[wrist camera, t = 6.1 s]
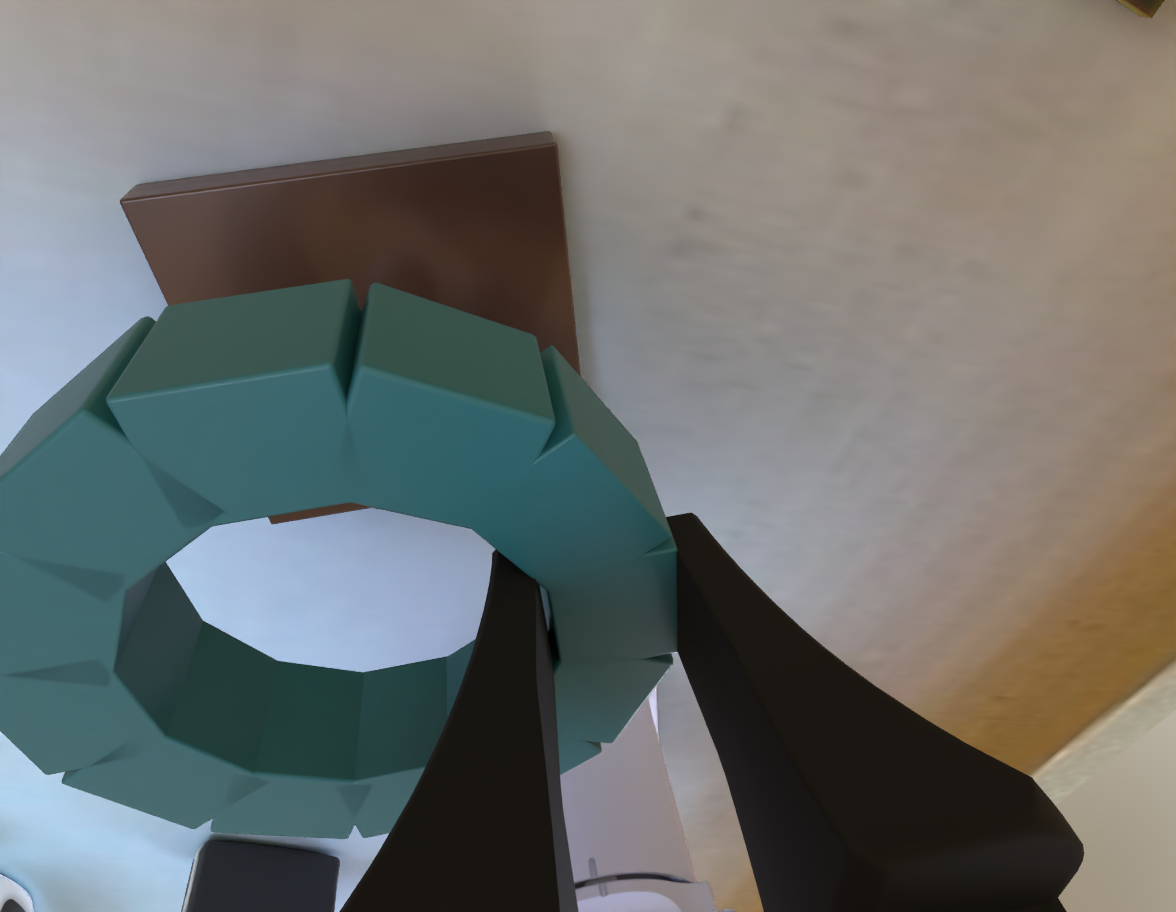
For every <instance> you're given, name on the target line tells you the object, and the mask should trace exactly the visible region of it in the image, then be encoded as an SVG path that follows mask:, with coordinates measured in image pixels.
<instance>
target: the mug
mask: <svg viewBox="0 0 1176 912" xmlns="http://www.w3.org/2000/svg"><path fill="white" fill-rule="evenodd" d="M0 912H34V906H33V902H32V899H31V897H30V896H29V894H28V893H27V892H26V891H25V890H24V889H23V888H22V887H21V886H20V885H19V884H17V883H16V882H14V881H12V880H11V879H9V878H7V877H5V876H3V875H1V874H0Z"/></svg>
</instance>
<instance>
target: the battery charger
mask: <svg viewBox="0 0 1176 912" xmlns="http://www.w3.org/2000/svg"><path fill="white" fill-rule="evenodd" d="M339 867H340V861H339V859H338V858H337V857H333V856H328V855H323V854H318V853H313V852H307V851H301V850H294V849H288V848H281V847H273V846H264V845H255V844H246V843H235V842H219V841H209V842H207V843H206V844H205V845H203V846H201V847H200V848H199V849H198V851H197V853H196V855H195V858H194V860H193V863H192V867H191V872H190V876H189V881H188V884H187V888H186V893H185V898H184V902H183V906H182V910H181V912H334V909H335V900H336V890H337V882H338V874H339Z"/></svg>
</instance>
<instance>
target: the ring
mask: <svg viewBox="0 0 1176 912" xmlns="http://www.w3.org/2000/svg"><path fill="white" fill-rule="evenodd" d="M345 503H355V504H360V505H364V506H369V507H373V508H378V509H382V510H387V511H392V512H396V513H401V514H405V515H410V516H414V517H419V518H424V519H428V520H433V521H437V522H442V523H446V524H451V525H455V526H460V527H465V528H469V529H472V530H473V531H475V532H476V533H477V534H478V535H480V536H481V537H482V538H483V539H484V540H486V541H487V542H488V543H489V544H491V545H492V546H493V547H494V548H495V549H497V550H498V551H499V552H500V553H502V554H503V555H504V556H505V557H506V558H508V559H509V560H510V561H511V562H512V563H514V564H515V565H516V566H517V567H519V568H520V569H521V570H522V571H523V572H525V573H526V574H527V575H528V576H530V577H531V578H532V579H536V582H537V583H538V584H539V585H540V591H541V596H542V601H543V607H544V612H545V618H546V624H547V630H548V637H549V643H550V649H551V656H552V663H553V673H554V683H555V699H556V715H557V732H558V748H559V765H560V775H561V774H563V773H565V772H567V771H569V770H571V769H572V768H574V767H576V766H578V765H580V764H582V763H584V762H585V761H587V760H589V759H591V758H593V757H595V756H596V755H598V754H600V753H601V752H602V748H601V743H613V742H614V741H615V740H616V739H617V737H618V736H619V735H620V733H621V732H622V731H623V729H624V728H625V727H626V725H627V724H628V723H629V721H630V720H631V719H632V718H633V716H634V715H635V714H636V712H637V711H638V710H639V708H640V707H641V706H642V704H643V703H644V702H645V700H646V699H647V698H648V696H649V695H650V694H651V692H652V691H653V690H654V689H655V687H656V686H657V685H658V683H659V682H660V681H661V679H662V678H663V677H664V675H665V674H666V673H667V671H668V670H669V669H670V667H671V666H672V665H673V658H672V654H671V653H675V652H678V619H677V555H676V552H677V550H678V549H677V546H676V544H675V541H674V538H673V536H672V533H671V530H670V528H669V525H668V522H667V519H666V517H665V514H664V511H663V509H662V506H661V503H660V501H659V498H658V495H657V493H656V490H655V487H654V485H653V482H652V479H651V477H650V474H649V471H648V469H647V466H646V463H645V461H644V458H643V456H642V454H641V451H640V448H639V446H638V443H637V441H636V440H635V439H634V438H633V437H632V435H631V434H630V433H629V432H628V431H627V430H626V428H625V427H624V426H623V425H622V424H621V423H620V422H619V420H618V419H617V418H616V417H615V416H614V415H613V414H612V412H611V411H610V410H609V409H608V408H607V407H606V406H605V404H604V403H603V402H602V401H601V400H600V399H599V398H598V396H597V395H596V394H595V393H594V392H593V391H592V389H591V388H590V387H589V386H588V385H587V384H586V383H585V381H584V380H583V379H582V378H581V377H580V376H579V375H578V373H577V372H576V371H575V370H574V369H573V368H572V367H571V365H570V364H569V363H568V362H567V361H566V360H565V358H564V357H563V356H562V355H561V354H560V353H559V352H558V350H557V349H556V348H555V347H554V346H552V345H551V346H549V347H548V348H546V349H545V350H544V351H542V352H541V353H540V351H539V347H538V343H537V338H536V337H535V336H534V335H532V334H530V333H527V332H524V331H521V330H518V329H515V328H512V327H509V326H506V325H503V324H500V323H497V322H494V321H491V320H488V319H485V318H482V317H479V316H476V315H473V314H470V313H467V312H464V311H461V310H458V309H455V308H452V307H449V306H446V305H443V304H440V303H437V302H434V301H431V300H428V299H425V298H422V297H419V296H416V295H413V294H410V293H407V292H404V291H401V290H398V289H395V288H392V287H389V286H386V285H383V284H380V283H373V284H372V285H371V286H370V287H369V291H368V294H367V297H366V300H365V304H364V307H363V310H362V312H361V309H360V306H359V302H358V299H357V296H356V292H355V289H354V286H353V283H352V281H351V280H350V279H343V280H336V281H330V282H323V283H316V284H309V285H303V286H296V287H289V288H283V289H276V290H269V291H262V292H256V293H249V294H242V295H236V296H229V297H222V298H215V299H209V300H202V301H195V302H189V303H182V304H175V305H169V306H167V307H166V308H165V309H164V311H163V312H162V314H161V315H160V317H159V318H158V320H157V321H155V320H153V319H152V318H150V317H148V316H147V317H144V318H141V319H140V320H139V321H138V322H137V323H135V324H134V325H133V326H132V327H131V328H130V329H129V330H128V331H126V332H125V333H124V334H123V335H122V336H121V337H120V338H118V339H117V340H116V341H115V342H114V343H113V344H112V345H111V346H109V347H108V348H107V349H106V350H105V351H104V352H103V353H101V354H100V355H99V356H98V357H97V358H96V359H95V360H94V361H92V362H91V363H90V364H89V365H88V366H87V367H86V368H84V369H83V370H82V371H81V372H80V373H79V374H78V375H77V376H75V377H74V378H73V379H72V380H71V381H70V382H69V383H67V384H66V385H65V386H64V387H63V388H62V389H61V390H60V391H58V392H57V393H56V394H55V395H54V396H53V397H52V398H50V399H49V400H48V401H47V402H46V403H45V404H44V405H43V406H41V407H40V408H39V409H38V410H37V411H36V412H35V413H33V415H32V416H31V417H30V418H29V420H28V421H27V422H26V424H25V425H24V426H23V427H22V429H21V430H20V431H19V433H18V434H17V435H16V436H15V438H14V439H13V440H12V442H11V443H10V444H9V445H8V447H7V448H6V449H5V451H4V452H3V453H2V454H1V456H0V731H1V732H2V733H3V734H4V735H5V736H6V737H7V738H8V739H9V740H10V741H11V742H12V743H13V744H14V745H15V746H16V747H17V748H19V749H20V750H21V751H22V752H23V753H24V754H25V755H26V756H27V757H28V758H29V759H30V760H31V761H32V762H33V763H34V764H35V765H36V766H37V767H38V768H39V769H40V770H41V771H43V772H44V773H45V774H47V775H50V774H55V773H60V772H65V771H66V772H65V774H64V777H63V779H62V783H63V784H65V785H68V786H71V787H73V788H76V789H79V790H82V791H85V792H88V793H91V794H94V795H96V796H99V797H102V798H105V799H108V800H111V801H114V802H116V803H119V804H122V805H125V806H128V807H131V808H134V809H137V810H139V811H142V812H145V813H148V814H151V815H154V816H157V817H160V818H162V819H165V820H168V821H171V822H174V823H177V824H180V825H182V826H185V827H188V828H191V829H196V828H197V827H199V826H201V825H202V824H204V823H206V822H207V821H209V820H210V819H212V818H213V820H212V824H211V832H215V833H236V834H256V835H276V836H296V837H316V838H336V839H347V838H348V837H349V835H350V833H351V831H352V829H353V827H354V825H356V827H357V829H358V830H359V832H360V834H361V835H362V837H363V838H367V837H372V836H377V835H382V834H386V833H390V832H391V830H392V828H393V826H394V825H395V823H396V821H397V819H398V818H399V816H400V814H401V813H402V811H403V809H404V807H405V806H406V804H407V802H408V800H409V798H410V797H411V795H412V793H413V791H414V789H415V787H416V785H417V783H418V781H419V779H420V777H421V775H422V773H423V771H424V769H425V767H426V765H427V763H428V761H429V759H430V757H431V755H432V753H433V751H434V749H435V746H436V744H437V742H438V740H439V738H440V735H441V733H442V731H443V728H444V726H445V724H446V722H447V719H448V717H449V714H450V712H451V709H452V707H453V704H454V702H455V699H456V697H457V694H458V691H459V689H460V686H461V683H462V680H463V677H464V674H465V671H466V668H467V665H468V663H469V660H470V657H471V654H472V651H473V647H474V644H475V640H476V639H475V640H474V641H472V642H470V643H469V644H467V645H466V646H464V647H462V648H461V649H459V650H458V651H456V652H454V653H453V654H451V655H450V656H447V657H442V658H437V659H432V660H426V661H421V662H416V663H411V664H405V665H400V666H395V667H390V668H384V669H379V670H374V671H369V672H355V671H348V670H340V669H333V668H325V667H318V666H311V665H303V664H296V663H288V662H281V661H277V660H275V659H273V658H271V657H269V656H268V655H266V654H264V653H262V652H260V651H258V650H256V649H255V648H253V647H251V646H249V645H247V644H245V643H243V642H242V641H240V640H238V639H236V638H234V637H232V636H230V635H229V634H227V633H225V632H223V631H221V630H219V629H217V628H216V627H214V626H212V625H210V624H208V623H206V622H204V621H203V620H202V619H201V617H200V615H199V614H198V612H197V611H196V609H195V608H194V606H193V604H192V603H191V601H190V600H189V598H188V596H187V595H186V593H185V592H184V590H183V589H182V587H181V585H180V584H179V582H178V581H177V579H176V577H175V576H174V574H173V573H172V571H171V570H170V568H169V566H168V565H167V563H166V562H165V561H167V560H168V559H169V558H171V557H172V556H173V555H175V554H176V553H177V552H179V551H180V550H181V549H183V548H184V547H185V546H187V545H188V544H189V543H191V542H192V541H193V540H195V539H196V538H197V537H199V536H200V535H201V534H203V533H204V532H205V531H207V530H208V529H209V528H210V527H212V526H217V525H223V524H229V523H234V522H240V521H246V520H252V519H258V518H263V517H269V516H275V515H281V514H287V513H292V512H298V511H304V510H310V509H316V508H321V507H327V506H333V505H339V504H345ZM600 742H601V743H600Z"/></svg>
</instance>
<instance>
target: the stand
mask: <svg viewBox="0 0 1176 912" xmlns="http://www.w3.org/2000/svg"><path fill="white" fill-rule="evenodd" d="M120 204H121V206H122V208H123V210H124V212H125V215H126V217H127V219H128V221H129V223H130V225H131V227H132V229H133V231H134V234H135V236H136V238H137V240H138V242H139V244H140V246H141V248H142V251H143V253H144V255H145V257H146V259H147V261H148V263H149V265H150V268H151V270H152V272H153V274H154V276H155V278H156V280H157V282H158V285H159V287H160V289H161V291H162V293H163V295H164V297H165V299H166V302H167V304H168V306H169V305H175V304H182V303H189V302H195V301H202V300H209V299H215V298H222V297H229V296H236V295H242V294H249V293H256V292H262V291H269V290H276V289H283V288H289V287H296V286H303V285H309V284H316V283H323V282H330V281H336V280H343V279H350V280H351V281H352V283H353V286H354V289H355V292H356V296H357V299H358V302H359V306H360V309H361V312H362V310H363V307H364V304H365V300H366V297H367V294H368V291H369V287H370V286H371V285H372V284H373V283H380V284H383V285H386V286H389V287H392V288H395V289H398V290H401V291H404V292H407V293H410V294H413V295H416V296H419V297H422V298H425V299H428V300H431V301H434V302H437V303H440V304H443V305H446V306H449V307H452V308H455V309H458V310H461V311H464V312H467V313H470V314H473V315H476V316H479V317H482V318H485V319H488V320H491V321H494V322H497V323H500V324H503V325H506V326H509V327H512V328H515V329H518V330H521V331H524V332H527V333H530V334H532V335H534V336H535V337H536V338H537V343H538V347H539V351H540V353H541V352H542V351H544V350H545V349H546V348H548V347H549V346H551V345H552V346H554V347H555V348H556V349H557V350H558V352H559V353H560V354H561V355H562V356H563V357H564V358H565V360H566V361H567V362H568V363H569V364H570V365H571V367H572V368H573V369H574V370H575V371H576V372H577V373H578V375H579V376H580V377H581V375H580V365H579V355H578V345H577V336H576V326H575V316H574V306H573V296H572V286H571V276H570V267H569V257H568V247H567V237H566V227H565V217H564V207H563V198H562V188H561V178H560V168H559V158H558V148H557V144H556V142H555V140H554V138H553V136H552V134H551V132H549V131H548V132H540V133H533V134H525V135H517V136H509V137H502V138H494V139H486V140H479V141H471V142H463V143H455V144H448V145H440V146H432V147H424V148H417V149H409V150H401V151H394V152H386V153H378V154H370V155H363V156H355V157H347V158H339V159H332V160H324V161H316V162H309V163H301V164H293V165H285V166H278V167H270V168H262V169H254V170H247V171H239V172H231V173H223V174H216V175H208V176H200V177H193V178H185V179H177V180H169V181H162V182H154V183H146V184H138V185H136V186H134V187H133V188H132V189H131V190H130V191H129V192H128V193H127V194H126V195H125V196H124V197H123V198H122V199H121V200H120ZM367 508H373V507H369V506H364V505H360V504H355V503H345V504H339V505H333V506H327V507H321V508H316V509H310V510H304V511H298V512H292V513H287V514H281V515H275V516H269V517H268V518H269V520H270V522H271V524H278V523H284V522H289V521H295V520H301V519H307V518H313V517H319V516H325V515H331V514H337V513H343V512H349V511H355V510H361V509H367ZM376 509H378V508H376Z"/></svg>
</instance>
